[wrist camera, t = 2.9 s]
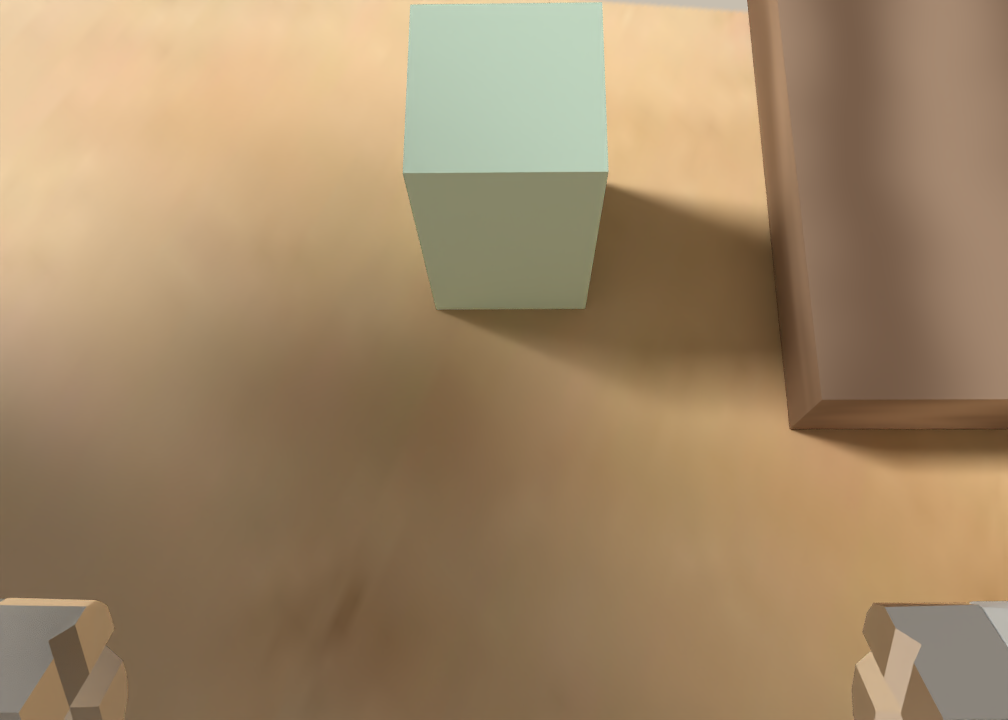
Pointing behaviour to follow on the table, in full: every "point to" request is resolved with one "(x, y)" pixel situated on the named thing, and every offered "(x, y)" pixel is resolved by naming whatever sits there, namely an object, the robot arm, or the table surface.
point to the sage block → (506, 151)
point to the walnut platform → (887, 208)
